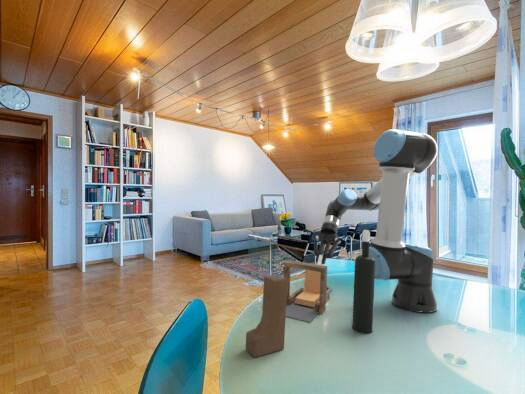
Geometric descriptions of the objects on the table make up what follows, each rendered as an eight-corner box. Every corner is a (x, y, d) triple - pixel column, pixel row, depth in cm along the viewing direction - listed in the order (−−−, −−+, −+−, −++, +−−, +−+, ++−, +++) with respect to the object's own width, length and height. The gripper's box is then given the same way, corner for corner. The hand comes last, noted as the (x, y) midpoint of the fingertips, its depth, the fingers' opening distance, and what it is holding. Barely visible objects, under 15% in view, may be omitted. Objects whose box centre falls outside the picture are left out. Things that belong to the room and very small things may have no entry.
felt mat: (287, 304, 104) (287, 303, 104) (319, 311, 99) (320, 310, 99) (275, 314, 94) (275, 313, 94) (310, 322, 89) (310, 321, 89)
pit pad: (313, 287, 126) (313, 284, 126) (331, 290, 123) (331, 287, 123) (308, 291, 119) (308, 289, 119) (327, 295, 116) (327, 292, 116)
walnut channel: (297, 292, 117) (299, 255, 117) (333, 300, 110) (335, 260, 111) (282, 304, 103) (284, 262, 103) (322, 314, 96) (324, 268, 96)
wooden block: (253, 358, 67) (257, 282, 68) (244, 349, 71) (248, 277, 71) (284, 349, 72) (287, 278, 72) (274, 341, 76) (277, 274, 76)
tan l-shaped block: (305, 294, 115) (306, 266, 115) (322, 297, 111) (323, 269, 111) (295, 303, 104) (296, 273, 104) (313, 307, 101) (315, 276, 101)
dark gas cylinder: (348, 326, 87) (352, 229, 88) (362, 324, 90) (366, 229, 90) (361, 335, 82) (365, 231, 82) (376, 332, 84) (380, 231, 85)
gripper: (344, 233, 135) (334, 276, 120) (318, 230, 141) (305, 271, 126) (343, 223, 130) (332, 266, 115) (315, 220, 136) (301, 262, 121)
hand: (318, 269), depth 121 cm, fingers closed
